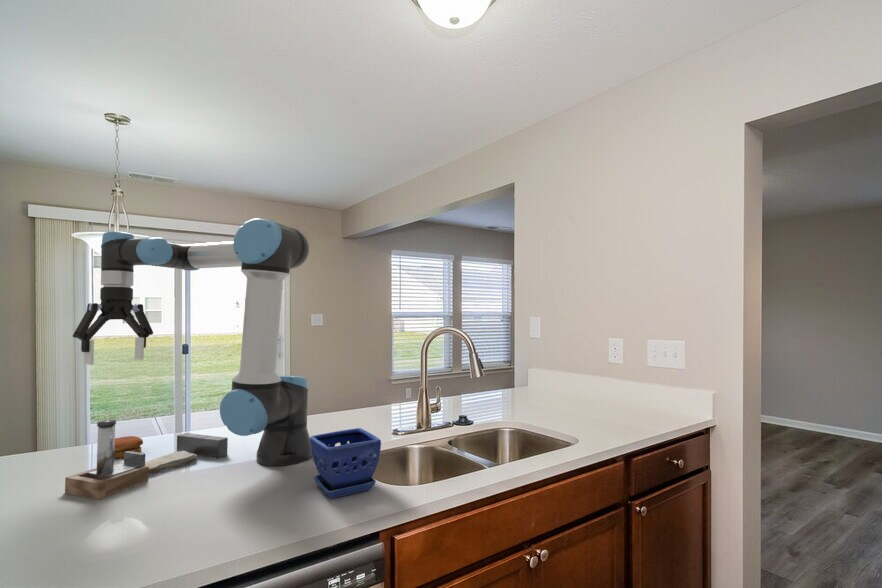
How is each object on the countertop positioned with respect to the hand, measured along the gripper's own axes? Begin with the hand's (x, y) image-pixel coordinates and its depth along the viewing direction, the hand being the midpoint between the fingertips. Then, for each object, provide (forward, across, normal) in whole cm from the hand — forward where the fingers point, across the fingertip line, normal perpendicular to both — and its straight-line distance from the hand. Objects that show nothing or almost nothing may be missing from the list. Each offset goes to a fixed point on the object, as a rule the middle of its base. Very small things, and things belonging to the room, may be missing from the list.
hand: (115, 362), depth 125 cm
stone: (+28, -3, +19) cm, 34 cm away
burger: (+28, -5, -3) cm, 28 cm away
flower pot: (+28, -6, +72) cm, 77 cm away
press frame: (+27, +13, +20) cm, 36 cm away
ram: (+26, +11, +19) cm, 35 cm away
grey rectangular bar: (+27, -13, +19) cm, 36 cm away
